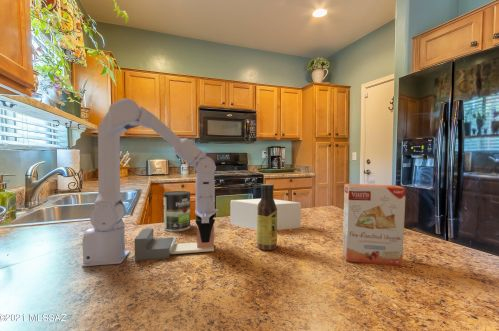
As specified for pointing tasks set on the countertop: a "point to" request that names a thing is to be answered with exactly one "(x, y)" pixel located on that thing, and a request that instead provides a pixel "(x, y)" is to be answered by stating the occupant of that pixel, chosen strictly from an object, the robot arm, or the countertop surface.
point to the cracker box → (374, 223)
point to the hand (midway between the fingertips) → (205, 239)
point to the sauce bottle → (267, 219)
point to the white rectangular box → (247, 213)
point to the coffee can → (176, 211)
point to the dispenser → (152, 246)
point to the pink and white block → (195, 245)
